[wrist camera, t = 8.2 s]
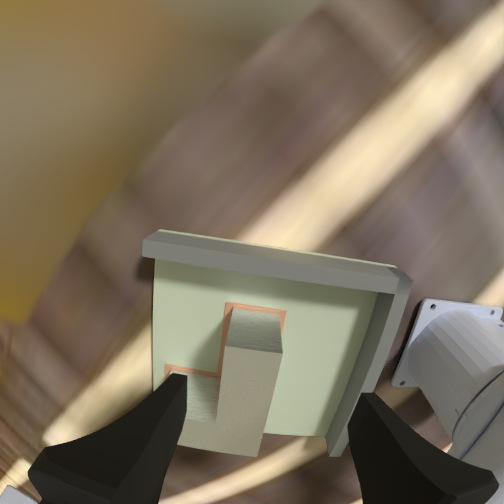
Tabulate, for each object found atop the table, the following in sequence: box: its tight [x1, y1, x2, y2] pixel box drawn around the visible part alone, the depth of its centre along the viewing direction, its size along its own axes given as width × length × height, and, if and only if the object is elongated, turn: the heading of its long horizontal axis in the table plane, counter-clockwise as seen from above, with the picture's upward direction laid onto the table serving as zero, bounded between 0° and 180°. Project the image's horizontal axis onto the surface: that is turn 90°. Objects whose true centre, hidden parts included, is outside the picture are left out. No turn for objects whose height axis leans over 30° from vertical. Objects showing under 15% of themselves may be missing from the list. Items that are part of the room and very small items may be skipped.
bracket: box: [169, 306, 283, 457], centre depth 19 cm, size 9×7×5 cm
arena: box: [142, 229, 413, 457], centre depth 21 cm, size 16×16×3 cm
